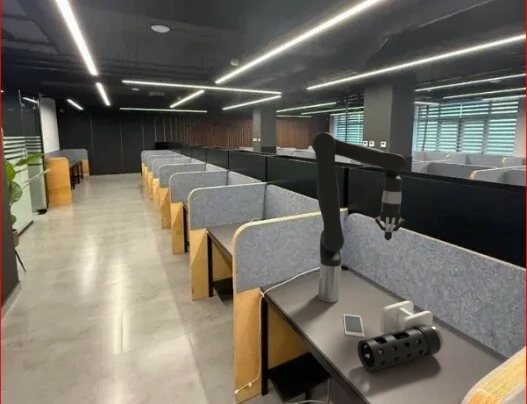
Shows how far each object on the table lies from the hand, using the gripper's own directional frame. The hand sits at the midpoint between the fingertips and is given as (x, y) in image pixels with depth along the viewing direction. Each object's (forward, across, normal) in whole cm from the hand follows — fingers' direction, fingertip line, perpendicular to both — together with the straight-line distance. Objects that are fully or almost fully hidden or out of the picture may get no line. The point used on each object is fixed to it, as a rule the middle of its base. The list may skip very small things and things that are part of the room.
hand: (387, 239), depth 136 cm
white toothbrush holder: (+29, +4, -27) cm, 40 cm away
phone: (+30, -14, -24) cm, 41 cm away
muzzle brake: (+29, 0, -41) cm, 50 cm away
